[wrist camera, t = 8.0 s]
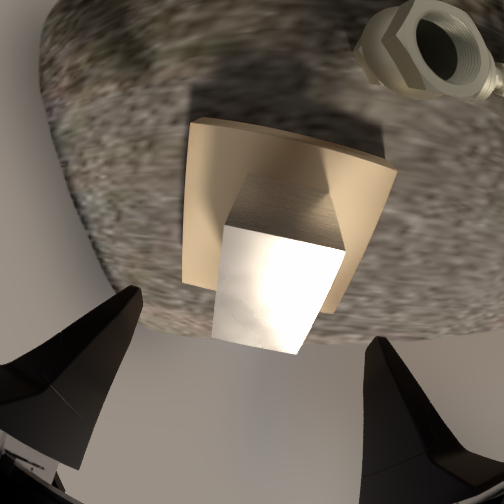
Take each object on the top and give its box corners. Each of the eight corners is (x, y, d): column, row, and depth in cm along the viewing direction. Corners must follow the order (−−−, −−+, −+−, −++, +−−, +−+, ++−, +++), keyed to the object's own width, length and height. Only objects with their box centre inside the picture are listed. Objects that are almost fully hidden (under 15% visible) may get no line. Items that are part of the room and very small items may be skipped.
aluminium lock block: (329, 191, 13) (345, 251, 9) (298, 283, 16) (296, 354, 12) (247, 173, 13) (224, 224, 9) (231, 269, 16) (211, 337, 12)
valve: (351, 112, 12) (513, 140, 10) (394, 139, 7) (579, 181, 5) (340, -3, 8) (513, 48, 6) (373, -53, 3) (584, 60, 1)
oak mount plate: (385, 159, 13) (397, 171, 12) (330, 293, 19) (332, 314, 17) (202, 116, 13) (190, 122, 12) (191, 263, 19) (182, 282, 18)
